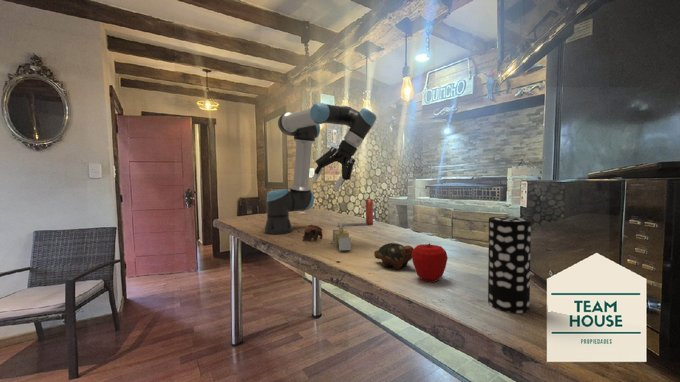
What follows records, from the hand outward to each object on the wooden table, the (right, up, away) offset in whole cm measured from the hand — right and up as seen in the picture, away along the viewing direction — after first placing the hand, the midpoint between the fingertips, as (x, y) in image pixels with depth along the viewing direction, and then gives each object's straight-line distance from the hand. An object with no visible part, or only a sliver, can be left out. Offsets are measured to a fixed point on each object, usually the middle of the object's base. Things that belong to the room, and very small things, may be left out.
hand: (324, 185), depth 127 cm
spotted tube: (+46, -29, -59) cm, 80 cm away
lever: (+14, -17, -1) cm, 22 cm away
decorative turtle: (+25, -28, -29) cm, 47 cm away
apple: (+33, -28, -42) cm, 60 cm away
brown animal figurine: (-6, -26, +13) cm, 30 cm away
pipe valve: (+7, -26, -2) cm, 27 cm away
